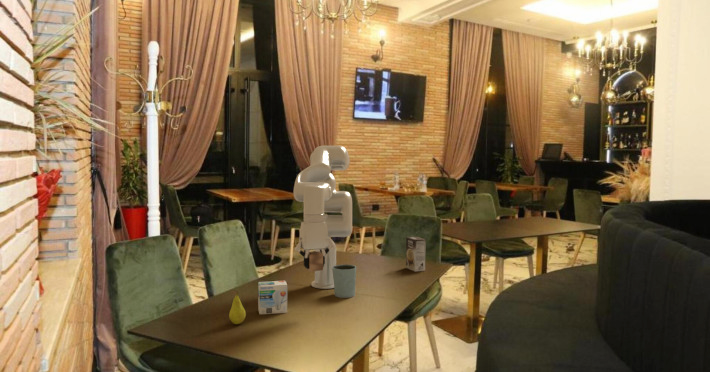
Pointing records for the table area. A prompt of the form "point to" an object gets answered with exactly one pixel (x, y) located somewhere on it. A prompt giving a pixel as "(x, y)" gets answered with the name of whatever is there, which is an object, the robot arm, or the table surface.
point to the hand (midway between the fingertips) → (314, 266)
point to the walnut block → (315, 261)
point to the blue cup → (344, 280)
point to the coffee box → (415, 253)
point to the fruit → (237, 311)
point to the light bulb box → (272, 297)
